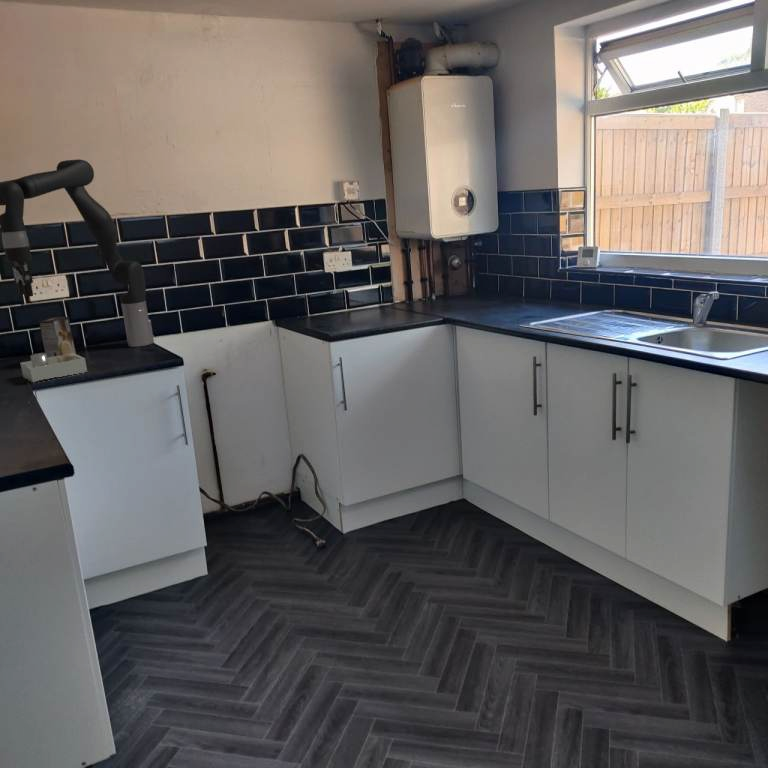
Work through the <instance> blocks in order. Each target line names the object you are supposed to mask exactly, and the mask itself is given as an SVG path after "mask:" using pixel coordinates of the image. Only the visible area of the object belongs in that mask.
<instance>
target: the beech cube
mask: <svg viewBox="0 0 768 768" xmlns="http://www.w3.org/2000/svg"><path fill="white" fill-rule="evenodd" d="M56 357H57V362H58V363H61V362H66V361H71V360H76V356H75V355H74V354H66V355H60V356H56Z"/></svg>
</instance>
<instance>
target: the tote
mask: <svg viewBox="0 0 768 768" xmlns="http://www.w3.org/2000/svg"><path fill="white" fill-rule="evenodd" d="M70 354H74V353H70ZM65 355H66V354H65ZM74 355H75V356H76V360H71V361H66V362H61V363H58V362H57V357H56V356H54V357H49V358H47V359H48V363H49V365H46V366H40V367H35V368H33V366H32V361H31V360H29V361H23V362H20V367H21V368H20V369H21V372H22V377H23V378H24V379H26V380H27V379H28V380H27V381H29V382H30V381H31V382H30V383H32V382H33V383H34V382H36V381H39V380H43V379H49V378H54V377H62V376H67V375H72V376H74V375H73V374H77V375H80V374H79V373H82V374H85V372H87V373H88V368H87V363H86V358H85V357H83V356H81V355H78V354H77V353H76V354H74ZM33 383H32V384H33ZM34 384H35V383H34Z"/></svg>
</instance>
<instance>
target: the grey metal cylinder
mask: <svg viewBox="0 0 768 768" xmlns="http://www.w3.org/2000/svg"><path fill="white" fill-rule="evenodd" d="M30 361H32V366H33V368H35V367H40V366H46V365H49V363H48V359H47V354H46V353H45V352H39V353H35V354H31V355H30Z"/></svg>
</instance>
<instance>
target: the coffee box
mask: <svg viewBox="0 0 768 768" xmlns="http://www.w3.org/2000/svg"><path fill="white" fill-rule="evenodd" d="M38 324H39V329H40V333H41V338H42V342H43V343H42V344H43V348H44V353H46V354H47V358H49V357H54V356H60V355H65V354H70V353H74V354H77V353H76V347H75V343H74V342H75V341H74V338H73V332H72V328H71V322H70V318H69V316H56V317H50V318H48V319H45V320H42V321H41V320H40V321H38Z"/></svg>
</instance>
